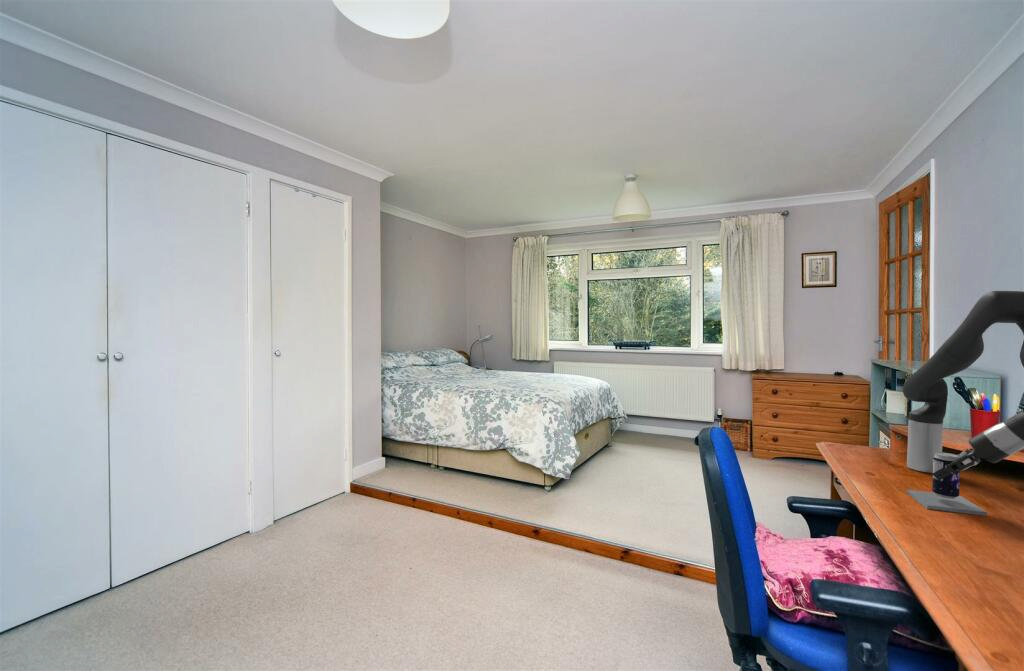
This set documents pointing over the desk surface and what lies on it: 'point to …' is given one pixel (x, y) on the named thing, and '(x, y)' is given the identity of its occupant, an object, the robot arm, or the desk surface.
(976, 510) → the slate tile
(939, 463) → the beverage can
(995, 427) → the robot arm
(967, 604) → the desk surface
